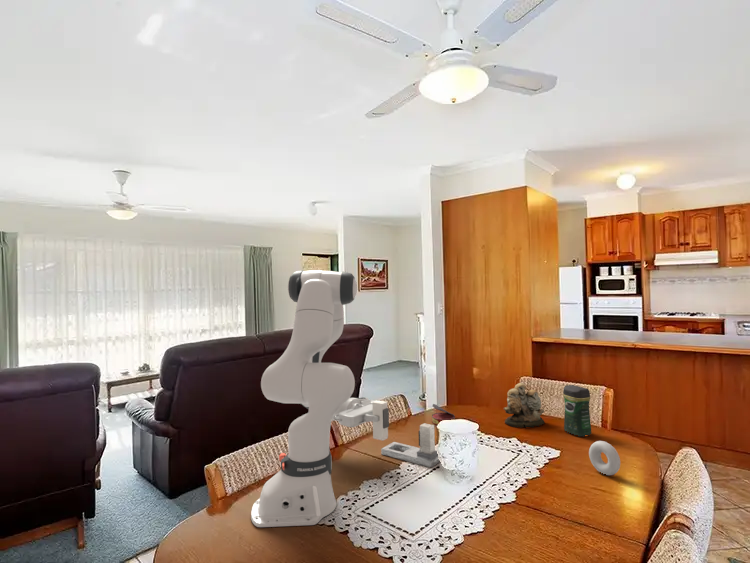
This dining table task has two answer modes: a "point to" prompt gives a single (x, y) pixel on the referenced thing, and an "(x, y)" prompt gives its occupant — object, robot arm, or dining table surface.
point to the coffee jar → (577, 410)
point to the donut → (611, 455)
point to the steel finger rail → (416, 448)
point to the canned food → (441, 415)
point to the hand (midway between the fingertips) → (382, 417)
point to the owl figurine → (523, 407)
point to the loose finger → (381, 420)
